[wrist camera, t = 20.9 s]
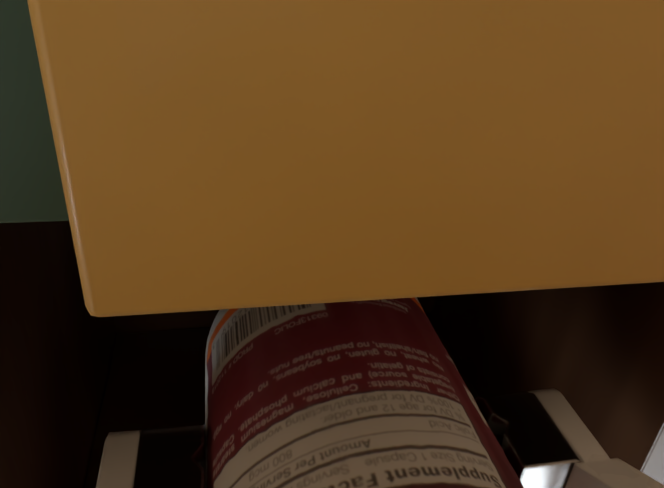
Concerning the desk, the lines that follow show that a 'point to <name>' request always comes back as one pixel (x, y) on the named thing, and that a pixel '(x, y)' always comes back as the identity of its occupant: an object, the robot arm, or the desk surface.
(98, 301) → the lid
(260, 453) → the pill bottle
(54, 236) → the box
